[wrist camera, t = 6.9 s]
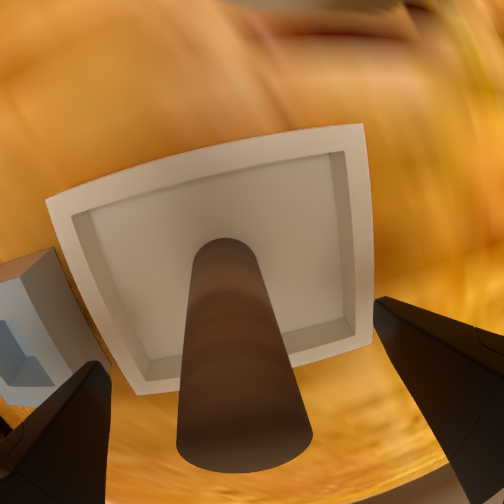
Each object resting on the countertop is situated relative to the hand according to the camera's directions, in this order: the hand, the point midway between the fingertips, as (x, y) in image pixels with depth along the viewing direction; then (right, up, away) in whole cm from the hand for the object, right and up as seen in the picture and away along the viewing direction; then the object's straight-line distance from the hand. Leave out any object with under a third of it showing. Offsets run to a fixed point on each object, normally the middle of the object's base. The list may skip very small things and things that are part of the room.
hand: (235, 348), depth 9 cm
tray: (-1, +2, +6) cm, 6 cm away
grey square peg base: (-13, -1, +6) cm, 14 cm away
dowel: (-1, +2, +5) cm, 6 cm away
